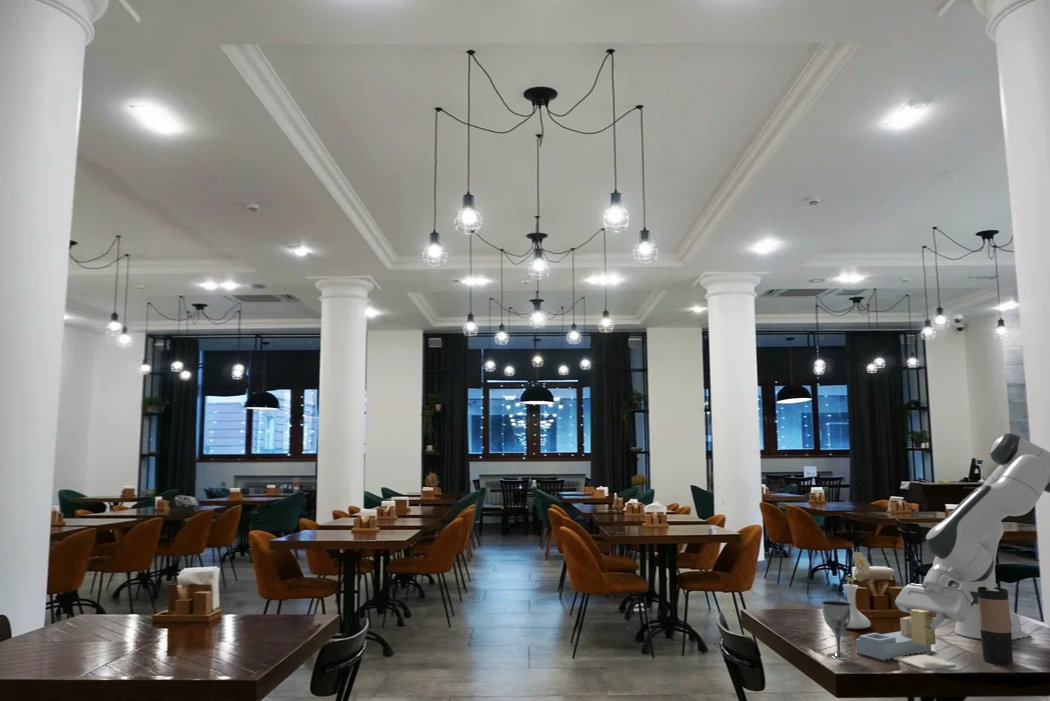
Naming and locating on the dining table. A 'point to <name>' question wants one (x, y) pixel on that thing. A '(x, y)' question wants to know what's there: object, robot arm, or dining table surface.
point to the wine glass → (837, 621)
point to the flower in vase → (856, 617)
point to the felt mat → (924, 661)
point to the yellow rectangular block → (922, 627)
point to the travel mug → (995, 625)
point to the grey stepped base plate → (890, 643)
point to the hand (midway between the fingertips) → (921, 626)
